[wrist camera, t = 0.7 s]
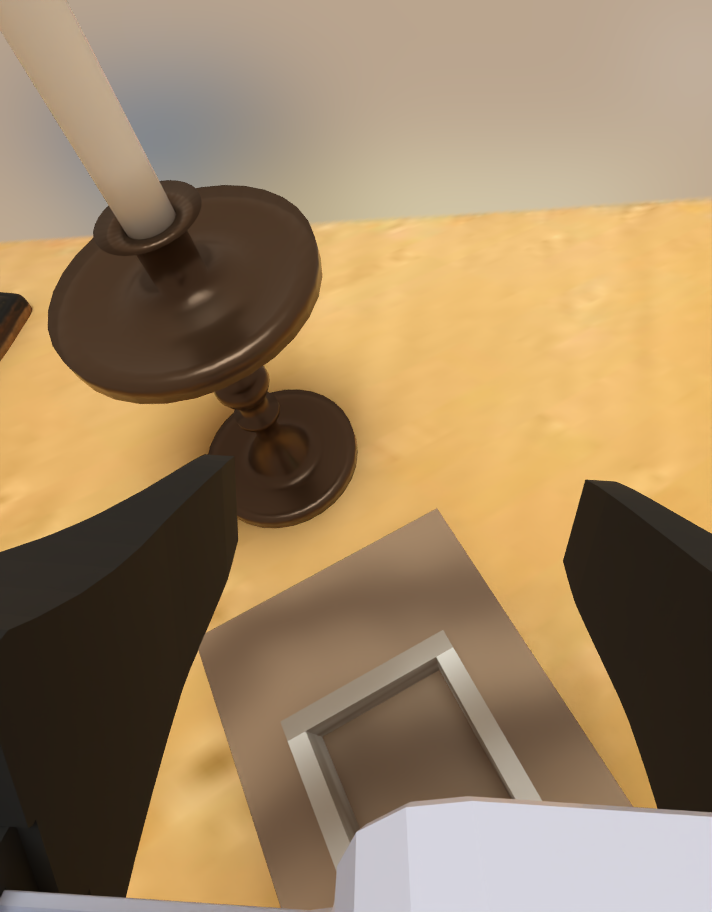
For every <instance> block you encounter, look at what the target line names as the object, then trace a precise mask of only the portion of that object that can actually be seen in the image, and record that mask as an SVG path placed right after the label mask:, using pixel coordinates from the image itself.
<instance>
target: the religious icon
mask: <svg viewBox="0 0 712 912" xmlns="http://www.w3.org/2000/svg"><path fill="white" fill-rule="evenodd" d="M30 314H31V306H30V305H29V303H28V302H27V300H26V299H25V298H24V297H23V296H21V295H19V294H14V293H3V292H0V361H1V359H2V358H3V357H4V355H5V354H6V352H7V351H8V349H9V348H10V346H11V345H12V343H13V342H14V340H15V338H16V337H17V335H18V334H19V332H20V330H21V329H22V327H23V326H24V324H25V322H26V321H27V319H28V318H29V316H30Z"/></svg>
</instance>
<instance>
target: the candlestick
mask: <svg viewBox="0 0 712 912" xmlns="http://www.w3.org/2000/svg"><path fill="white" fill-rule="evenodd" d="M0 31H1V32H2V34H3V36H4V37H5V39H6V40H7V42H8V44H9V45H10V47H11V48H12V50H13V52H14V53H15V55H16V57H17V58H18V60H19V61H20V63H21V65H22V66H23V68H24V69H25V71H26V73H27V74H28V76H29V78H30V79H31V81H32V82H33V84H34V86H35V87H36V89H37V90H38V92H39V94H40V95H41V97H42V99H43V100H44V102H45V103H46V105H47V106H48V108H49V110H50V111H51V113H52V115H53V116H54V118H55V120H56V121H57V123H58V124H59V126H60V128H61V129H62V131H63V132H64V134H65V136H66V137H67V139H68V141H69V142H70V144H71V145H72V147H73V149H74V150H75V152H76V153H77V155H78V157H79V158H80V160H81V161H82V163H83V165H84V166H85V168H86V169H87V171H88V173H89V174H90V176H91V178H92V179H93V181H94V182H95V184H96V186H97V187H98V189H99V191H100V192H101V194H102V195H103V197H104V199H105V200H106V202H107V203H108V205H109V206H108V207H107V208H106V209H105V210H104V211H103V212H102V214H101V215H100V216H99V218H98V220H97V222H96V224H95V227H94V231H93V236H94V238H93V239H92V240H91V241H90V242H89V243H88V244H87V245H86V246H85V247H84V248H83V249H82V250H81V251H80V252H79V253H78V254H77V255H76V256H75V257H74V259H73V260H72V261H71V263H70V264H69V265H68V267H67V268H66V269H65V271H64V272H63V274H62V276H61V278H60V280H59V281H58V283H57V285H56V287H55V289H54V291H53V295H52V298H51V302H50V306H49V309H48V331H49V335H50V338H51V342H52V345H53V347H54V349H55V350H56V352H57V353H58V354H59V356H60V357H61V359H62V360H63V362H64V363H65V364H66V365H67V366H68V367H69V368H70V369H71V370H72V371H73V372H74V373H75V374H76V375H77V376H78V377H79V378H80V379H81V380H82V381H83V382H85V383H86V384H87V385H88V386H90V387H91V388H92V389H93V390H95V391H97V392H99V393H101V394H104V395H106V396H108V397H111V398H113V399H115V400H121V401H126V402H132V403H138V404H164V403H172V402H178V401H183V400H189V399H194V398H198V397H201V396H203V395H206V394H209V393H212V392H214V394H215V396H216V397H217V399H218V400H219V401H220V402H221V403H222V404H223V405H225V406H227V407H230V408H232V409H235V411H234V413H233V414H232V415H231V416H230V417H229V418H228V419H227V420H226V421H225V422H224V423H223V425H222V426H221V428H220V429H219V430H218V432H217V433H216V435H215V437H214V439H213V441H212V444H211V446H210V450H209V454H208V455H222V456H235V477H236V502H237V518H238V519H240V520H242V521H244V522H246V523H248V524H251V525H255V526H260V527H267V528H280V527H287V526H293V525H296V524H299V523H302V522H305V521H308V520H310V519H311V518H313V517H315V516H317V515H319V514H320V513H322V512H323V511H325V510H326V509H327V508H328V507H330V506H331V505H332V504H333V503H334V502H335V501H336V500H337V499H338V498H339V497H340V496H341V494H342V493H343V492H344V491H345V489H346V487H347V486H348V484H349V482H350V480H351V479H352V476H353V473H354V470H355V467H356V461H357V443H356V438H355V435H354V432H353V429H352V426H351V424H350V421H349V419H348V418H347V416H346V415H345V413H344V412H343V410H342V409H341V408H340V407H339V406H338V405H337V404H335V403H334V402H333V401H331V400H330V399H328V398H326V397H325V396H323V395H320V394H317V393H314V392H311V391H304V390H282V391H276V392H271V393H269V392H267V391H268V387H269V375H268V372H267V370H266V369H265V367H264V366H263V365H265V364H266V363H268V362H269V361H270V360H272V359H273V358H275V357H276V356H277V355H278V354H279V353H280V352H281V351H282V350H283V349H284V348H285V347H286V346H287V345H288V344H289V343H290V342H291V341H292V340H293V339H294V338H295V336H296V335H297V334H298V332H299V331H300V329H301V328H302V327H303V325H304V324H305V322H306V321H307V320H308V318H309V317H310V314H311V312H312V310H313V308H314V305H315V303H316V301H317V299H318V296H319V291H320V286H321V281H322V268H321V258H320V254H319V250H318V247H317V243H316V240H315V236H314V234H313V231H312V229H311V226H310V224H309V222H308V220H307V219H306V218H305V216H304V215H303V214H302V213H301V212H300V210H299V209H298V208H297V207H296V206H294V205H293V204H292V203H290V202H289V201H287V200H286V199H285V198H283V197H281V196H278V195H276V194H274V193H271V192H269V191H266V190H263V189H257V188H253V187H247V186H231V185H221V186H210V187H201V188H194V187H193V186H192V185H189V184H188V183H185V182H181V181H171V180H170V181H169V180H166V181H159V180H158V178H157V176H156V174H155V172H154V170H153V169H152V166H151V164H150V162H149V160H148V158H147V156H146V154H145V152H144V150H143V148H142V147H141V144H140V143H139V141H138V139H137V137H136V135H135V133H134V131H133V129H132V127H131V125H130V123H129V121H128V119H127V117H126V115H125V113H124V111H123V109H122V107H121V105H120V103H119V102H118V100H117V98H116V96H115V94H114V92H113V90H112V88H111V86H110V84H109V82H108V80H107V78H106V76H105V74H104V72H103V70H102V68H101V66H100V64H99V63H98V61H97V58H96V57H95V55H94V53H93V51H92V49H91V47H90V45H89V43H88V41H87V39H86V37H85V35H84V33H83V31H82V30H81V27H80V25H79V23H78V21H77V20H76V17H75V15H74V14H73V12H72V10H71V8H70V6H69V4H68V2H67V0H0Z"/></svg>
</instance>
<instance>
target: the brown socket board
mask: <svg viewBox="0 0 712 912" xmlns="http://www.w3.org/2000/svg"><path fill="white" fill-rule="evenodd" d="M198 650H199V653H200V656H201V659H202V662H203V666H204V669H205V672H206V675H207V678H208V681H209V684H210V687H211V691H212V694H213V697H214V700H215V703H216V706H217V709H218V712H219V716H220V719H221V722H222V725H223V728H224V731H225V734H226V737H227V741H228V744H229V747H230V750H231V753H232V756H233V759H234V762H235V766H236V769H237V772H238V775H239V778H240V781H241V784H242V787H243V791H244V794H245V797H246V800H247V803H248V806H249V809H250V812H251V816H252V819H253V822H254V825H255V828H256V831H257V834H258V838H259V841H260V844H261V847H262V850H263V853H264V856H265V859H266V863H267V866H268V869H269V872H270V875H271V878H272V881H273V884H274V888H275V891H276V894H277V897H278V900H279V903H280V906H281V908H286V909H301V910H315V909H322V908H330V907H333V905H334V899H335V886H336V873H337V865H338V864H339V862H340V860H341V858H342V856H343V855H344V853H345V851H346V849H347V848H348V846H349V844H350V842H351V840H352V839H353V837H354V835H355V833H356V832H357V831H358V830H360V829H361V828H362V827H363V826H365V825H366V824H367V823H369V822H371V821H373V820H375V819H377V818H379V817H381V816H383V815H385V814H387V813H389V812H391V811H393V810H395V809H397V808H399V807H401V806H403V805H405V804H407V803H409V802H414V801H424V800H434V799H445V798H455V797H465V796H473V797H488V798H503V799H518V800H533V801H548V802H563V803H578V804H593V805H608V806H623V807H633V806H632V805H631V803H630V801H629V800H628V798H627V797H626V795H625V794H624V792H623V791H622V789H621V788H620V786H619V785H618V783H617V782H616V780H615V779H614V777H613V776H612V774H611V773H610V771H609V769H608V768H607V766H606V765H605V763H604V762H603V760H602V759H601V757H600V756H599V754H598V753H597V751H596V750H595V748H594V747H593V745H592V744H591V742H590V741H589V739H588V738H587V736H586V734H585V733H584V731H583V730H582V728H581V727H580V725H579V724H578V722H577V721H576V719H575V718H574V716H573V715H572V713H571V712H570V710H569V709H568V707H567V706H566V704H565V703H564V701H563V699H562V698H561V696H560V695H559V693H558V692H557V690H556V689H555V687H554V686H553V684H552V683H551V681H550V680H549V678H548V677H547V675H546V674H545V672H544V671H543V669H542V667H541V666H540V664H539V663H538V661H537V660H536V658H535V657H534V655H533V654H532V652H531V651H530V649H529V648H528V646H527V645H526V643H525V642H524V640H523V639H522V637H521V636H520V634H519V632H518V631H517V629H516V628H515V626H514V625H513V623H512V622H511V620H510V619H509V617H508V616H507V614H506V613H505V611H504V610H503V608H502V607H501V605H500V604H499V602H498V600H497V599H496V597H495V596H494V594H493V593H492V591H491V590H490V588H489V587H488V585H487V584H486V582H485V581H484V579H483V578H482V576H481V575H480V573H479V572H478V570H477V569H476V567H475V565H474V564H473V562H472V561H471V559H470V558H469V556H468V555H467V553H466V552H465V550H464V549H463V547H462V546H461V544H460V543H459V541H458V540H457V538H456V537H455V535H454V533H453V532H452V530H451V529H450V527H449V526H448V524H447V523H446V521H445V520H444V518H443V517H442V515H441V514H440V512H439V511H438V509H435V510H433V511H431V512H429V513H427V514H425V515H424V516H422V517H420V518H418V519H416V520H414V521H413V522H411V523H409V524H407V525H405V526H403V527H401V528H400V529H398V530H396V531H394V532H392V533H390V534H388V535H387V536H385V537H383V538H381V539H379V540H377V541H375V542H374V543H372V544H370V545H368V546H366V547H364V548H363V549H361V550H359V551H357V552H355V553H353V554H351V555H350V556H348V557H346V558H344V559H342V560H340V561H338V562H337V563H335V564H333V565H331V566H329V567H327V568H326V569H324V570H322V571H320V572H318V573H316V574H314V575H313V576H311V577H309V578H307V579H305V580H303V581H301V582H300V583H298V584H296V585H294V586H292V587H290V588H289V589H287V590H285V591H283V592H281V593H279V594H277V595H276V596H274V597H272V598H270V599H268V600H266V601H264V602H263V603H261V604H259V605H257V606H255V607H253V608H251V609H250V610H248V611H246V612H244V613H242V614H240V615H239V616H237V617H235V618H233V619H231V620H229V621H227V622H226V623H224V624H222V625H220V626H218V627H216V628H214V629H213V630H211V631H209V632H207V633H205V635H204V637H203V640H202V642H201V644H200V647H199V649H198Z"/></svg>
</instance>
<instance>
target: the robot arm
mask: <svg viewBox="0 0 712 912" xmlns="http://www.w3.org/2000/svg"><path fill="white" fill-rule="evenodd" d="M237 542H238V526H237V502H236V477H235V456H222V455H207V454H205V455H203V456H200V457H198V458H197V459H195V460H193V461H191V462H189V463H188V464H186V465H184V466H183V467H181V468H179V469H178V470H176V471H175V472H173V473H171V474H170V475H168V476H166V477H165V478H163V479H161V480H159V481H158V482H156V483H154V484H153V485H151V486H149V487H148V488H146V489H144V490H143V491H141V492H139V493H137V494H135V495H133V496H131V497H130V498H128V499H126V500H124V501H122V502H120V503H118V504H116V505H115V506H113V507H111V508H109V509H107V510H105V511H103V512H101V513H99V514H97V515H95V516H93V517H91V518H89V519H87V520H84V521H82V522H80V523H78V524H75V525H73V526H71V527H68V528H66V529H63V530H61V531H59V532H56V533H54V534H51V535H49V536H46V537H43V538H41V539H38V540H35V541H32V542H29V543H26V544H23V545H20V546H17V547H14V548H11V549H8V550H5V551H2V552H0V912H712V534H711V533H709V532H708V531H706V530H704V529H702V528H700V527H699V526H697V525H695V524H693V523H692V522H690V521H688V520H686V519H685V518H683V517H681V516H679V515H678V514H676V513H674V512H673V511H671V510H669V509H667V508H666V507H664V506H662V505H660V504H659V503H657V502H655V501H653V500H652V499H650V498H648V497H646V496H644V495H642V494H641V493H639V492H637V491H635V490H633V489H631V488H629V487H627V486H625V485H622V484H620V483H618V482H613V481H598V480H585V483H584V487H583V490H582V494H581V498H580V501H579V505H578V509H577V512H576V516H575V519H574V523H573V527H572V530H571V534H570V538H569V541H568V545H567V549H566V552H565V556H564V559H563V563H564V566H565V570H566V574H567V578H568V581H569V585H570V588H571V591H572V594H573V598H574V601H575V604H576V606H577V608H578V610H579V613H580V615H581V617H582V619H583V622H584V624H585V626H586V628H587V630H588V632H589V635H590V637H591V639H592V641H593V643H594V645H595V647H596V650H597V652H598V654H599V656H600V658H601V660H602V662H603V664H604V666H605V669H606V671H607V673H608V675H609V677H610V679H611V681H612V684H613V686H614V688H615V690H616V692H617V694H618V696H619V698H620V701H621V703H622V706H623V708H624V710H625V713H626V715H627V718H628V720H629V723H630V726H631V729H632V732H633V734H634V737H635V740H636V743H637V746H638V749H639V752H640V755H641V758H642V761H643V764H644V767H645V769H646V773H647V776H648V779H649V782H650V785H651V789H652V792H653V795H654V798H655V801H656V805H657V808H658V809H653V808H638V807H623V806H608V805H593V804H578V803H563V802H548V801H533V800H518V799H503V798H488V797H473V796H465V797H455V798H445V799H434V800H424V801H414V802H409V803H407V804H405V805H403V806H401V807H399V808H397V809H395V810H393V811H391V812H389V813H387V814H385V815H383V816H381V817H379V818H377V819H375V820H373V821H371V822H369V823H367V824H366V825H365V826H363V827H362V828H361V829H360V830H358V831H357V832H356V833H355V835H354V837H353V839H352V840H351V842H350V844H349V846H348V848H347V849H346V851H345V853H344V855H343V856H342V858H341V860H340V862H339V864H338V865H337V873H336V886H335V899H334V905H333V907H330V908H322V909H315V910H301V909H286V908H271V907H256V906H241V905H226V904H211V903H196V902H181V901H166V900H151V899H137V898H126V894H127V890H128V886H129V882H130V878H131V874H132V870H133V865H134V861H135V857H136V854H137V850H138V846H139V842H140V838H141V834H142V831H143V827H144V823H145V819H146V815H147V812H148V808H149V804H150V800H151V796H152V792H153V789H154V785H155V782H156V778H157V775H158V771H159V768H160V764H161V761H162V757H163V753H164V750H165V746H166V743H167V739H168V736H169V733H170V729H171V726H172V723H173V719H174V716H175V713H176V709H177V706H178V703H179V699H180V696H181V693H182V690H183V687H184V684H185V681H186V679H187V676H188V673H189V671H190V668H191V666H192V663H193V661H194V659H195V656H196V654H197V652H198V649H199V647H200V644H201V642H202V640H203V637H204V635H205V633H206V630H207V628H208V626H209V623H210V621H211V618H212V616H213V614H214V611H215V609H216V607H217V604H218V602H219V599H220V597H221V595H222V592H223V590H224V587H225V585H226V582H227V580H228V576H229V573H230V569H231V565H232V562H233V558H234V554H235V550H236V546H237Z"/></svg>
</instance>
